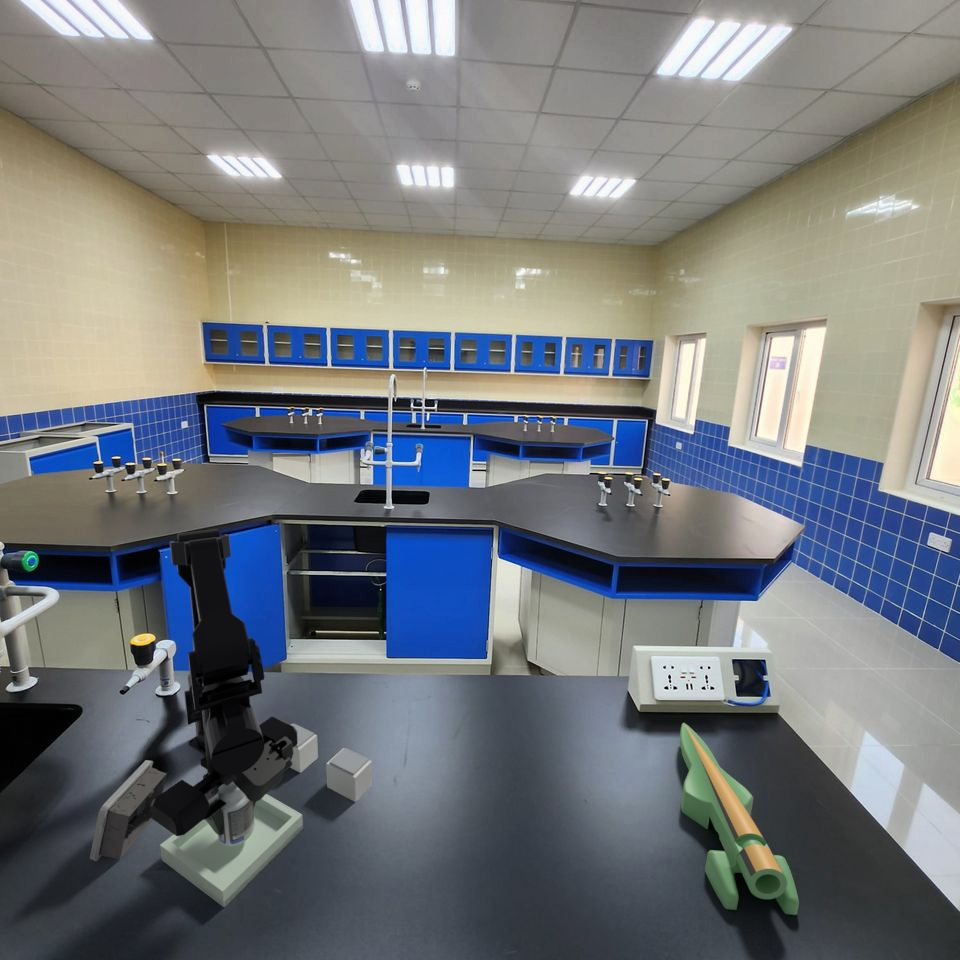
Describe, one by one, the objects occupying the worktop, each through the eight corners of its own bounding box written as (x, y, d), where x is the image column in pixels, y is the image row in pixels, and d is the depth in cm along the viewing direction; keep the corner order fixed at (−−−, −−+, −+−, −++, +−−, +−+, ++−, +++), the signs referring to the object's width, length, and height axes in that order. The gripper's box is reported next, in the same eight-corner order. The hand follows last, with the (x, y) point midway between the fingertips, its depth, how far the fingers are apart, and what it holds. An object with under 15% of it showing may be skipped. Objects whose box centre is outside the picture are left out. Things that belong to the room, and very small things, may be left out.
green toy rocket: (653, 738, 97) (657, 704, 96) (709, 742, 97) (714, 708, 95) (720, 911, 66) (727, 865, 65) (804, 918, 66) (813, 872, 64)
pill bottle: (260, 818, 75) (257, 769, 73) (246, 847, 70) (243, 796, 68) (227, 818, 75) (223, 768, 73) (211, 847, 70) (207, 795, 68)
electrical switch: (138, 806, 79) (137, 755, 77) (170, 812, 78) (170, 761, 76) (88, 864, 69) (85, 807, 67) (125, 870, 69) (123, 814, 67)
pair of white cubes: (275, 759, 89) (273, 735, 88) (293, 745, 92) (292, 721, 91) (355, 802, 81) (355, 775, 80) (372, 784, 84) (371, 759, 83)
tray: (161, 860, 70) (160, 845, 70) (243, 793, 82) (242, 780, 81) (224, 907, 64) (222, 891, 64) (303, 828, 76) (302, 814, 75)
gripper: (200, 797, 57) (211, 908, 60) (323, 704, 73) (326, 796, 76) (142, 759, 62) (154, 864, 65) (269, 680, 78) (274, 767, 81)
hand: (235, 820), depth 72 cm, fingers closed on pill bottle, 5 cm apart
